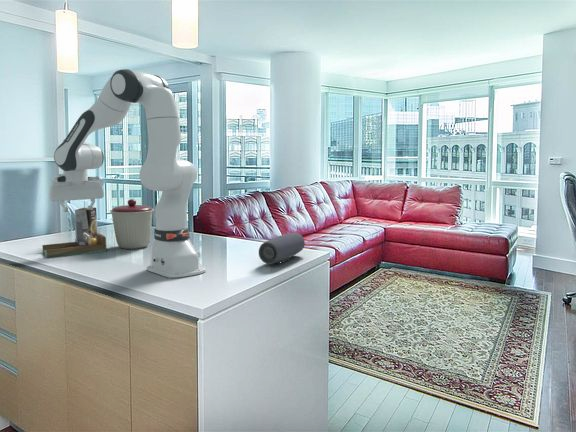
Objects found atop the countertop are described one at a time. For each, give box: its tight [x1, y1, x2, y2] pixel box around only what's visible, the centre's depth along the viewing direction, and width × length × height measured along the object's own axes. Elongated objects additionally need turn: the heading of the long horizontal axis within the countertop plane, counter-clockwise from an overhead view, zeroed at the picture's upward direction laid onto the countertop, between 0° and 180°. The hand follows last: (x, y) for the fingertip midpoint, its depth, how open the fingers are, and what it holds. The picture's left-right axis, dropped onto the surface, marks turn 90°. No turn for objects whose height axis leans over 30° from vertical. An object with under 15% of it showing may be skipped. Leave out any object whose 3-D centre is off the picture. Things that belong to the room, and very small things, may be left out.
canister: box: [109, 198, 155, 250], centre depth 193 cm, size 18×18×21 cm
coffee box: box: [74, 207, 99, 241], centre depth 199 cm, size 9×6×16 cm
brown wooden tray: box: [42, 232, 107, 259], centre depth 183 cm, size 12×22×7 cm, turn 126°
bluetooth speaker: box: [258, 232, 306, 265], centre depth 171 cm, size 23×9×10 cm, turn 152°
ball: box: [91, 238, 98, 245], centre depth 188 cm, size 4×4×4 cm
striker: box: [74, 220, 85, 247], centre depth 184 cm, size 8×2×11 cm, turn 36°
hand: (78, 210), depth 182 cm, fingers open, 8 cm apart
